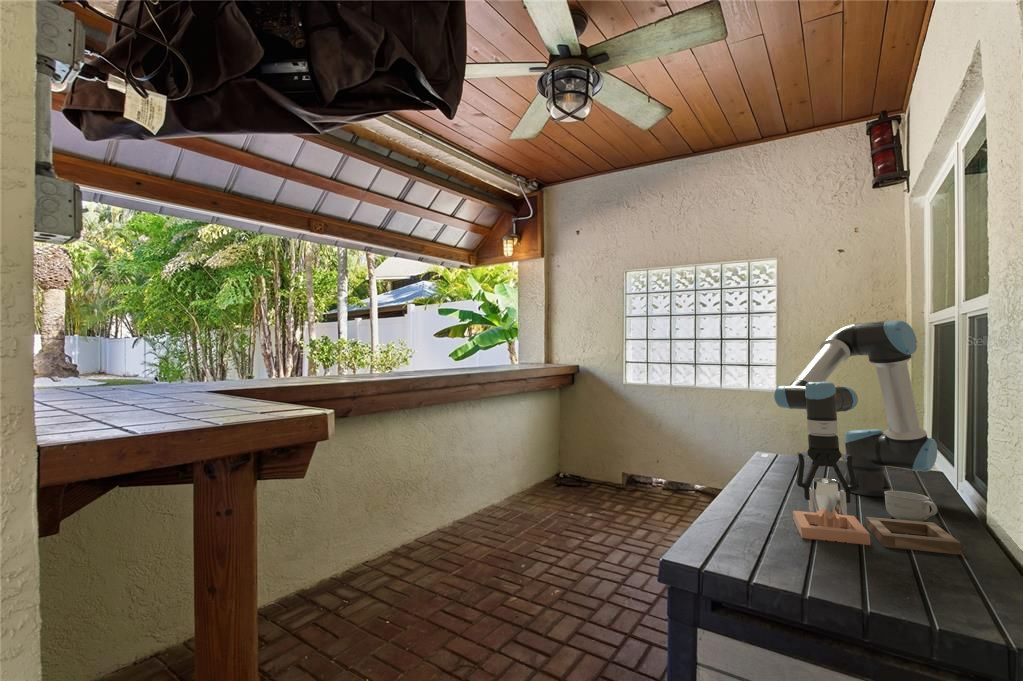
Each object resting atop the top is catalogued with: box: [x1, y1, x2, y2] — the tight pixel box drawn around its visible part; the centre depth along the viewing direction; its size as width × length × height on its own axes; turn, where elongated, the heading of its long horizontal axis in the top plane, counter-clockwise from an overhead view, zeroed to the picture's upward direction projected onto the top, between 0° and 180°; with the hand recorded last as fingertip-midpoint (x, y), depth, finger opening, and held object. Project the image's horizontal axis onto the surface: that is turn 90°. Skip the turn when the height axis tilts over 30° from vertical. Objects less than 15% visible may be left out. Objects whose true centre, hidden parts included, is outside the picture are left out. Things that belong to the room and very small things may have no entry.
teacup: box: [884, 490, 938, 522], centre depth 143 cm, size 14×11×8 cm
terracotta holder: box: [792, 510, 871, 546], centre depth 137 cm, size 16×16×3 cm
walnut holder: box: [865, 516, 963, 556], centre depth 129 cm, size 16×16×3 cm
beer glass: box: [812, 477, 842, 528], centre depth 137 cm, size 7×7×15 cm
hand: (827, 512), depth 137 cm, fingers open, 7 cm apart
